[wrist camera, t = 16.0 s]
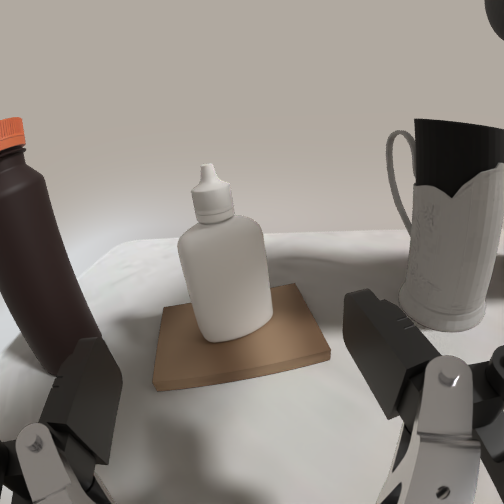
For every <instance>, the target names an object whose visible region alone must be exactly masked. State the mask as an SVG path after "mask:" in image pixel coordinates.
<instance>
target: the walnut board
mask: <svg viewBox="0 0 504 504" xmlns="http://www.w3.org/2000/svg"><path fill="white" fill-rule="evenodd" d="M270 291H271V299H272V308H273V315H272V317H271V319H270V320H269V321H268V322H267V323H266V324H265V325H263V326H262V327H261V328H259V329H258V330H256V331H254V332H252V333H250V334H248V335H246V336H243V337H241V338H237V339H234V340H230V341H224V342H216V343H213V342H209V341H208V340H206V339H205V338H204V336H203V334H202V333H201V331H200V329H199V326H198V323H197V320H196V317H195V313H194V310H193V306H192V303H187V304H181V305H175V306H169V307H164V308H163V314H162V320H161V326H160V332H159V338H158V345H157V352H156V359H155V366H154V373H153V381H152V383H153V384H154V386H155V388H156V390H157V391H167V390H176V389H185V388H193V387H200V386H207V385H214V384H220V383H227V382H232V381H238V380H244V379H249V378H254V377H259V376H264V375H269V374H274V373H278V372H283V371H287V370H291V369H296V368H300V367H304V366H308V365H312V364H316V363H319V362H323V361H327V360H330V354H331V349H330V347H329V345H328V343H327V341H326V340H325V338H324V336H323V334H322V332H321V330H320V328H319V326H318V325H317V323H316V321H315V319H314V317H313V315H312V313H311V312H310V310H309V308H308V306H307V304H306V302H305V301H304V299H303V297H302V295H301V293H300V291H299V290H298V288H297V286H296V284H295V283H293V284H288V285H283V286H278V287H273V288H270Z"/></svg>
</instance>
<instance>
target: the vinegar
mask: <svg viewBox="0 0 504 504" xmlns="http://www.w3.org/2000/svg"><path fill="white" fill-rule="evenodd" d="M25 144H26V143H25V137H24V131H23V123H22V119H21V118H19V117H13V118H8V119H3V120H0V292H1V294H2V296H3V299H4V301H5V303H6V305H7V307H8V308H9V311H10V313H11V314H12V316H13V318H14V320H15V321H16V324H17V326H18V327H19V329H20V331H21V333H22V334H23V336H24V338H25V339H26V341H27V343H28V344H29V346H30V348H31V349H32V351H33V353H34V354H35V356H36V357H37V359H38V360H39V362H40V363H41V365H42V366H43V368H44V369H45V370H47V371H48V372H49V373H50V374H53V375H57V373H58V371H59V369H60V366H61V364H62V363H63V362H64V361H65V360H66V359H67V358H68V356H69V355H70V354H73V352H74V349H75V347H76V345H77V343H78V341H79V340H80V339H83V338H93V337H101V338H102V335H101V332H100V330H99V328H98V326H97V324H96V322H95V320H94V318H93V316H92V314H91V311H90V309H89V307H88V305H87V302H86V300H85V298H84V296H83V293H82V291H81V289H80V286H79V284H78V281H77V279H76V276H75V274H74V271H73V269H72V266H71V264H70V261H69V258H68V255H67V253H66V250H65V247H64V244H63V241H62V238H61V235H60V232H59V230H58V226H57V223H56V220H55V216H54V213H53V209H52V206H51V202H50V199H49V195H48V191H47V187H46V183H45V180H44V177H43V175H41V174H40V173H39V172H37V171H36V170H34V169H33V168H31V167H29V166H28V165H26V163H25V159H24V154H23V152H25V151H26V149H25V148H22V147H23V146H24V145H25Z"/></svg>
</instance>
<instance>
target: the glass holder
mask: <svg viewBox="0 0 504 504" xmlns="http://www.w3.org/2000/svg"><path fill="white" fill-rule="evenodd" d="M414 123H415V140H414V138H413V137H412V136H411V135H410V134H409V133H408V132H406V131H400V130H397V131H395V132H393V133H391V134H390V136H389V137H388V140H387V144H386V161H387V171H388V178H389V183H390V187H391V191H392V195H393V199H394V202H395V205H396V207H397V210H398V212H399V214H400V216H401V218H402V220H403V222H404V225H405V227H406V229H407V231H408V233H409V235H410V237H411V240H410V250H409V260H408V268H407V275H406V280H405V282H404V284H403V286H402V287H401V289H400V292H399V302H400V305H401V307H402V308H403V310H404V311H405V312H406V314H407V315H408V316H410V317H411V318H412V319H413V320H415V321H416V322H418V323H419V324H421V325H424V326H426V327H428V328H431V329H434V330H438V331H444V332H460V331H465V330H469V329H471V328H473V327H475V326H476V325H478V324H479V323H480V322H481V321H482V319H483V317H484V315H485V310H486V305H485V297H486V294H487V290H488V287H489V283H490V279H491V276H492V272H493V268H494V264H495V259H496V255H497V250H498V245H499V240H500V234H501V229H502V222H503V216H504V129H499V128H494V127H488V126H482V125H475V124H469V123H461V122H453V121H443V120H430V119H414ZM399 134H402V135H403V136H404V137H405V138H406V139H407V141H408V143H409V145H410V148H411V152H412V164H413V173H414V176H415V178H416V183H414V187H413V190H414V191H413V214H412V224H411V222H410V220H409V218H408V216H407V214H406V212H405V209H404V207H403V205H402V202H401V200H400V196H399V193H398V189H397V185H396V181H395V175H394V169H393V156H392V150H393V148H392V147H393V142H394V139H395V137H396V136H397V135H399Z"/></svg>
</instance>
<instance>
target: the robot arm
mask: <svg viewBox="0 0 504 504" xmlns="http://www.w3.org/2000/svg"><path fill="white" fill-rule="evenodd" d="M485 9H486V14H487V17H488V20H489V22H490V25H491V27H492V28H493V30H494V31H495V33H496V34H497V35H498V36H499V37H500V38H501V39H502V40H504V0H485ZM343 339H344V342H345V345H346V347H347V349H348V351H349V353H350V354H351V356H352V358H353V359H354V361H355V363H356V365H357V366H358V368H359V370H360V371H361V373H362V375H363V377H364V378H365V380H366V382H367V384H368V385H369V387H370V389H371V391H372V392H373V394H374V396H375V398H376V400H377V401H378V403H379V405H380V407H381V408H382V410H383V412H384V414H385V416H386V417H387V419H388V420H390V419H392V418H394V417H397V416H399V415H400V417H401V418H402V420H403V423H402V426H401V430H400V435H399V439H398V442H397V446H396V450H395V454H394V457H393V461H392V464H391V467H390V471H389V474H388V477H387V479H386V481H385V483H384V485H383V487H382V489H381V492H380V494H379V496H378V499H377V501H376V504H474V499H475V493H476V487H477V480H478V473H479V465H480V458H481V460H482V462H483V464H484V466H485V467H486V469H487V471H488V473H489V475H490V477H491V479H492V481H493V483H494V485H495V487H496V489H497V491H498V493H499V495H500V497H501V499H502V502H503V504H504V411H503V410H504V345H503V346H500V347H498V348H497V349H496V350H495V351H494V353H493V355H492V357H491V359H490V361H486V362H482V363H476V364H471V365H467V364H466V363H465V362H464V361H463V360H461V359H460V358H457V357H454V356H448V355H445V356H442V355H441V354H440V353H439V352H438V351H437V350H436V348H435V347H434V346H433V345H432V344H431V343H430V342H429V340H428V339H427V338H426V337H425V336H424V335H423V334H422V332H421V331H420V330H419V329H418V328H417V327H416V326H414V323H413V322H412V321H411V320H410V319H409V318H407V316H406V315H405V314H404V312H403V311H402V310H401V309H400V308H399V307H398V306H396V305H394V304H392V303H391V302H389V301H387V300H381V301H380V300H379V299H378V298H377V297H376V296H375V295H374V294H373V293H372V291H371V290H370V289H363V290H359V291H355V292H351V293H347V294H346V295H345V298H344V315H343ZM56 377H57V379H55V381H54V383H53V385H52V386H53V388H51V390H50V393H49V395H48V398H47V401H46V403H45V406H44V409H43V411H42V414H41V417H40V420H39V422H38V423H32V424H30V425H27V426H26V427H25V428H23V429H22V430H21V432H20V433H19V435H18V437H17V439H16V440H13V441H7V442H1V441H0V496H1V491H2V486H3V485H4V486H6V487H7V488H8V489H10V490H11V491H13V496H12V502H11V504H116V502H115V501H114V500H113V498H112V497H111V495H110V493H109V492H108V490H107V489H106V487H105V486H104V484H103V482H102V481H101V479H100V478H99V476H98V474H97V473H96V472H95V471H94V470H95V464H101V465H108V464H109V457H110V450H111V444H112V438H113V432H114V426H115V420H116V415H117V410H118V405H119V400H120V395H121V390H122V384H123V382H122V375H121V371H120V369H119V367H118V365H117V364H116V362H115V360H114V358H113V356H112V354H111V353H110V351H109V349H108V347H107V345H106V343H105V341H104V340H103V339H102V338H101V337H93V338H83V339H80V340H79V341H78V343H77V345H76V347H75V349H74V352H73V354H70V355H69V356H68V358H67V359H66V360H65V361H64V362H63V363H62V364H61V366H60V369H59V371H58V373H57V376H56Z"/></svg>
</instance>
